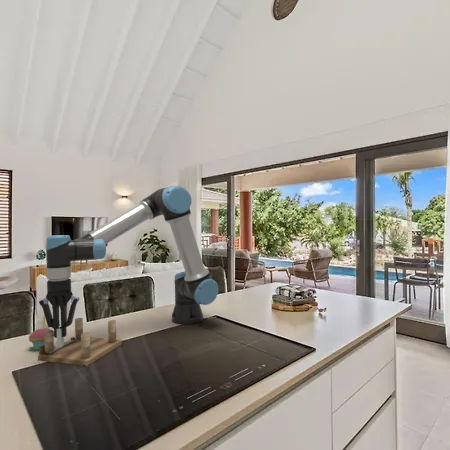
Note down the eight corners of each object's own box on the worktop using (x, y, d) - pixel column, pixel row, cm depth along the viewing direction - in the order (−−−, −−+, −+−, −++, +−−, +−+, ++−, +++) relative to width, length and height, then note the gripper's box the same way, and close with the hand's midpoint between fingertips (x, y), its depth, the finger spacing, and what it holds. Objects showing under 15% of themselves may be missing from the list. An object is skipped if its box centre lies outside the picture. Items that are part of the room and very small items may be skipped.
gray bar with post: (77, 340, 125) (77, 320, 125) (49, 354, 112) (49, 332, 112) (71, 339, 126) (71, 320, 126) (42, 353, 113) (42, 331, 113)
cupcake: (36, 344, 127) (35, 313, 127) (58, 343, 128) (58, 312, 128) (24, 352, 119) (24, 320, 119) (48, 351, 120) (48, 319, 120)
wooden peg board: (121, 344, 126) (121, 319, 126) (87, 365, 107) (86, 337, 107) (78, 340, 131) (77, 316, 131) (37, 360, 112) (37, 332, 112)
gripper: (81, 276, 118) (83, 341, 118) (44, 278, 116) (45, 343, 117) (74, 280, 111) (76, 349, 111) (34, 281, 109) (36, 351, 109)
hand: (60, 346), depth 114 cm, fingers closed
